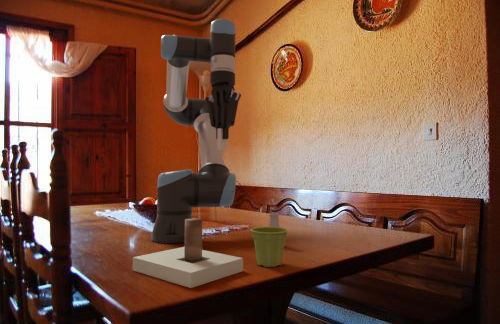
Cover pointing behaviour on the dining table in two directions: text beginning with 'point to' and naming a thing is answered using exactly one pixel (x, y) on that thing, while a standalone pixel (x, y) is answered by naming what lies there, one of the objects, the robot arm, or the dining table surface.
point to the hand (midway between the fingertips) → (222, 150)
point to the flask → (274, 220)
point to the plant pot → (269, 245)
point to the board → (187, 267)
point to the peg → (193, 240)
